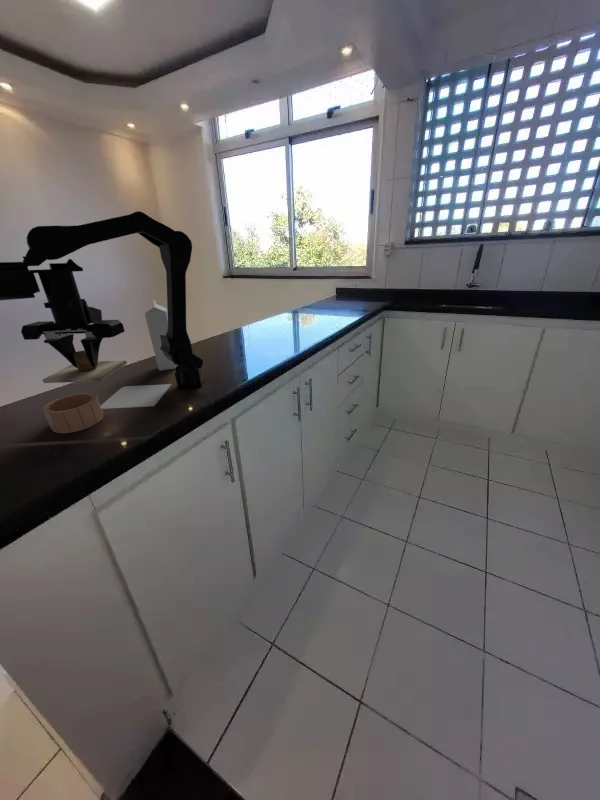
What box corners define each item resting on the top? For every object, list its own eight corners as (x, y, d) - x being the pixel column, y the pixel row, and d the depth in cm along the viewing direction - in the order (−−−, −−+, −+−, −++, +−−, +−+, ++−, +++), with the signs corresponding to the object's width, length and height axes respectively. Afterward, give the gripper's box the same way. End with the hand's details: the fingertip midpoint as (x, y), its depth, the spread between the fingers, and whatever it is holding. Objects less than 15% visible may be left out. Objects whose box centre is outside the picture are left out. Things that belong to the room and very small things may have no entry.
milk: (159, 372, 101) (141, 302, 91) (161, 366, 106) (144, 299, 96) (178, 369, 102) (163, 300, 93) (179, 364, 108) (164, 298, 98)
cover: (127, 363, 77) (122, 344, 75) (100, 381, 66) (94, 360, 64) (78, 364, 77) (71, 346, 75) (43, 383, 66) (35, 361, 64)
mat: (172, 385, 90) (171, 384, 90) (154, 408, 77) (153, 406, 77) (123, 388, 90) (123, 386, 89) (97, 411, 77) (96, 409, 77)
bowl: (112, 412, 76) (105, 391, 74) (89, 433, 67) (80, 411, 65) (70, 414, 76) (62, 394, 74) (42, 436, 67) (31, 414, 65)
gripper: (126, 290, 72) (142, 355, 79) (45, 292, 71) (67, 357, 78) (100, 296, 62) (121, 370, 68) (5, 298, 61) (35, 372, 68)
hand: (86, 366), depth 71 cm, fingers closed on cover, 4 cm apart
